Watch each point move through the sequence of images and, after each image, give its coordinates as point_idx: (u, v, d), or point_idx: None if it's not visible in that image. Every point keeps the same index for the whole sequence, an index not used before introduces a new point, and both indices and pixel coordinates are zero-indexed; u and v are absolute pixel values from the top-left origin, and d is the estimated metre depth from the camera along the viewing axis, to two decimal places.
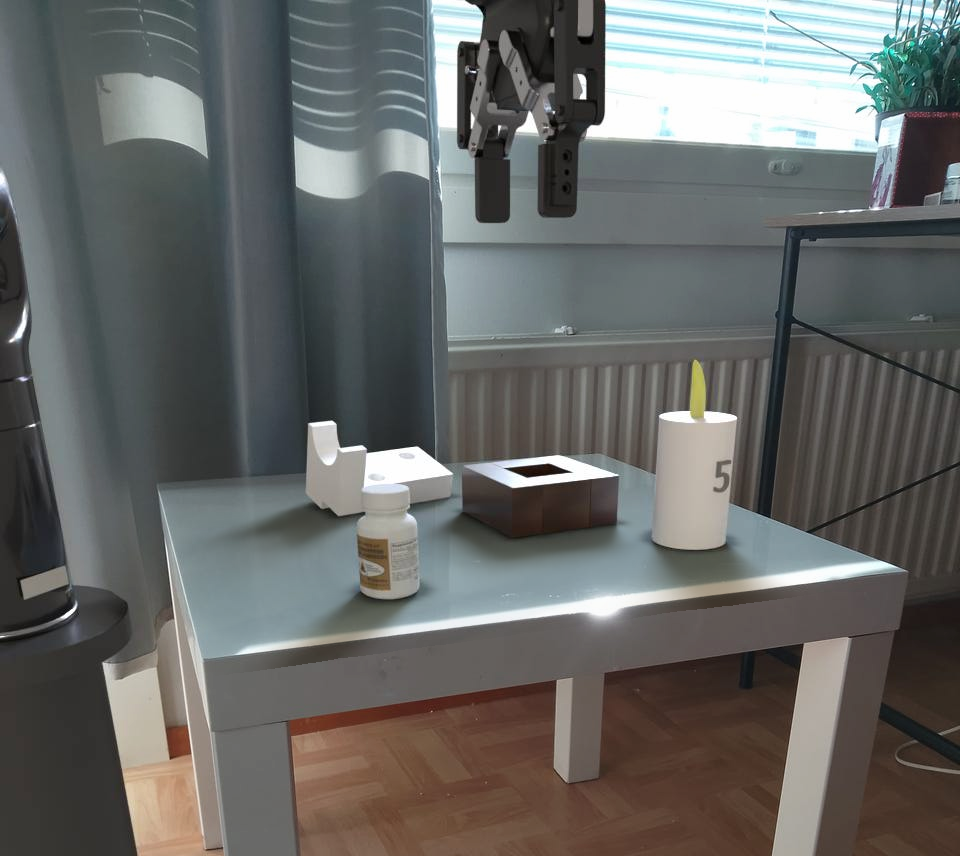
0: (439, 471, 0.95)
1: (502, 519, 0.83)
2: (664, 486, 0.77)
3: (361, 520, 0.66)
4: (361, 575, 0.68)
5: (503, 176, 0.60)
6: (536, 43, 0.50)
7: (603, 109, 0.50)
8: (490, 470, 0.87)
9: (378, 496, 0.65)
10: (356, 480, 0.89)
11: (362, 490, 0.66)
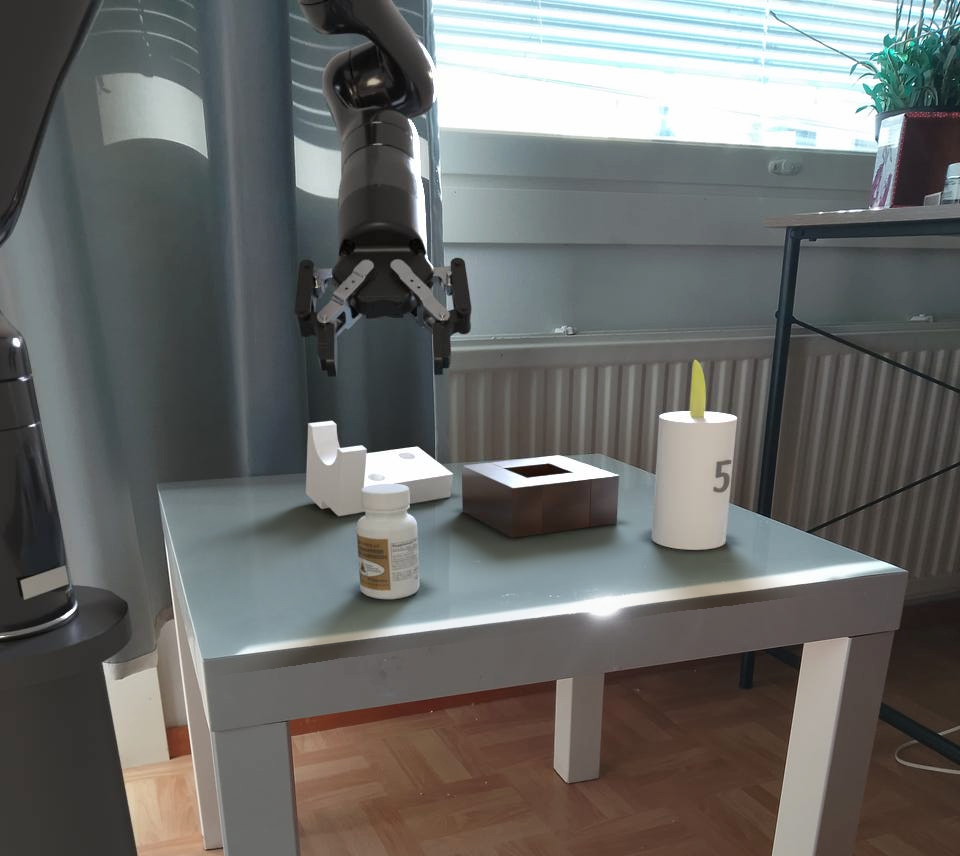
0: (439, 471, 0.95)
1: (502, 519, 0.83)
2: (664, 486, 0.77)
3: (361, 520, 0.66)
4: (361, 575, 0.68)
5: (336, 348, 0.75)
6: (424, 276, 0.77)
7: (470, 326, 0.77)
8: (490, 470, 0.87)
9: (378, 496, 0.65)
10: (356, 480, 0.89)
11: (362, 490, 0.66)
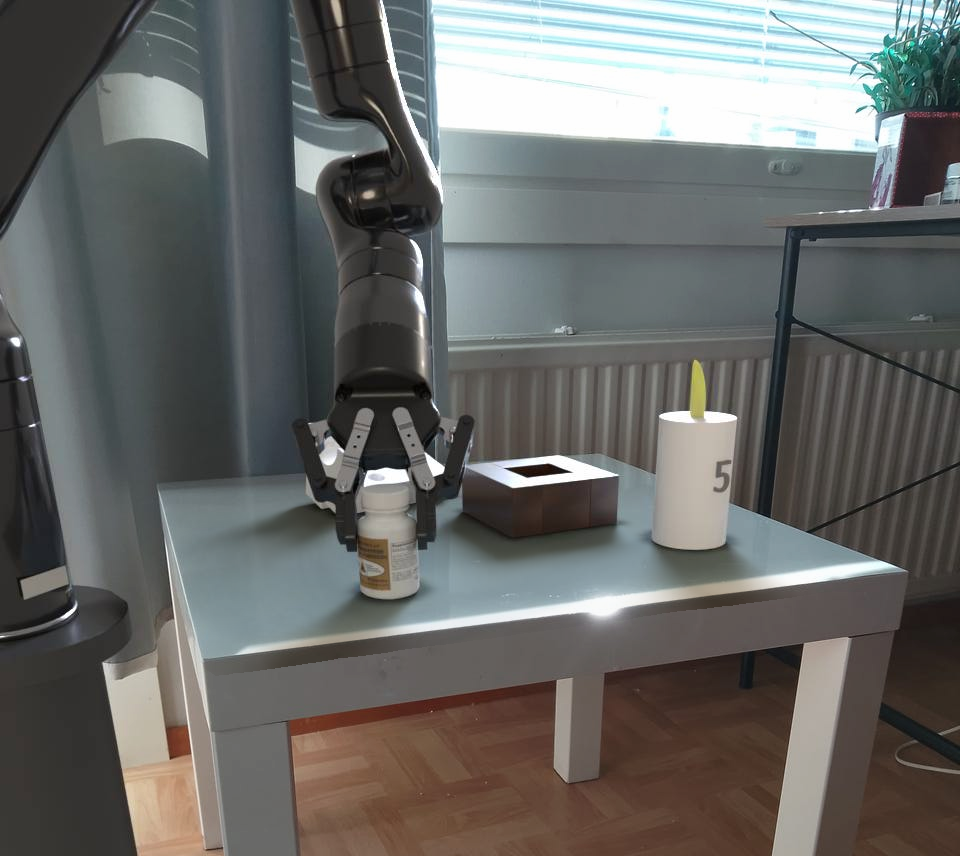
0: (439, 471, 0.95)
1: (502, 519, 0.83)
2: (664, 486, 0.77)
3: (361, 520, 0.66)
4: (361, 575, 0.68)
5: (356, 518, 0.67)
6: (430, 424, 0.69)
7: (458, 492, 0.69)
8: (490, 470, 0.87)
9: (377, 496, 0.65)
10: None
11: (362, 490, 0.66)
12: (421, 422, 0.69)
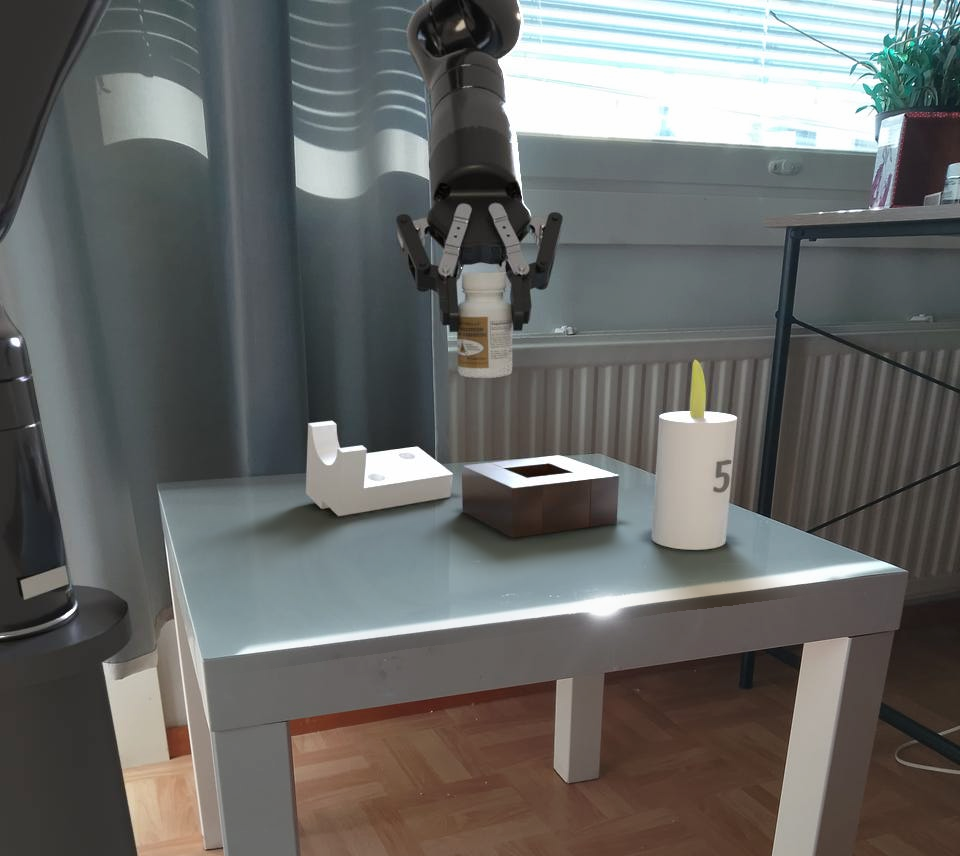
0: (439, 471, 0.95)
1: (502, 519, 0.83)
2: (664, 486, 0.77)
3: (462, 303, 0.73)
4: (460, 357, 0.74)
5: None
6: (522, 220, 0.75)
7: None
8: (490, 470, 0.87)
9: (479, 275, 0.71)
10: (356, 480, 0.89)
11: (463, 273, 0.72)
12: (514, 218, 0.75)
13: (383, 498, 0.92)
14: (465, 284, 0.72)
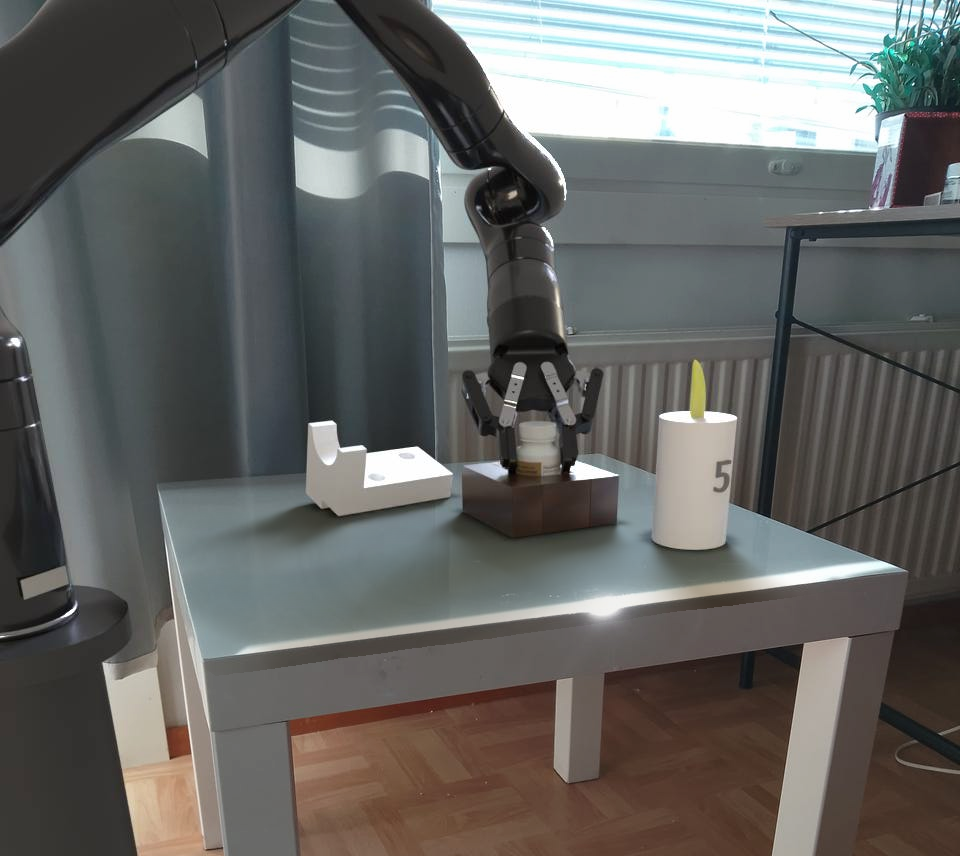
0: (439, 471, 0.95)
1: (502, 519, 0.83)
2: (664, 486, 0.77)
3: (518, 448, 0.86)
4: None
5: None
6: (569, 375, 0.88)
7: (590, 429, 0.88)
8: (490, 470, 0.87)
9: (535, 428, 0.84)
10: (356, 480, 0.89)
11: (521, 425, 0.85)
12: (562, 374, 0.88)
13: (383, 498, 0.92)
14: (522, 434, 0.85)
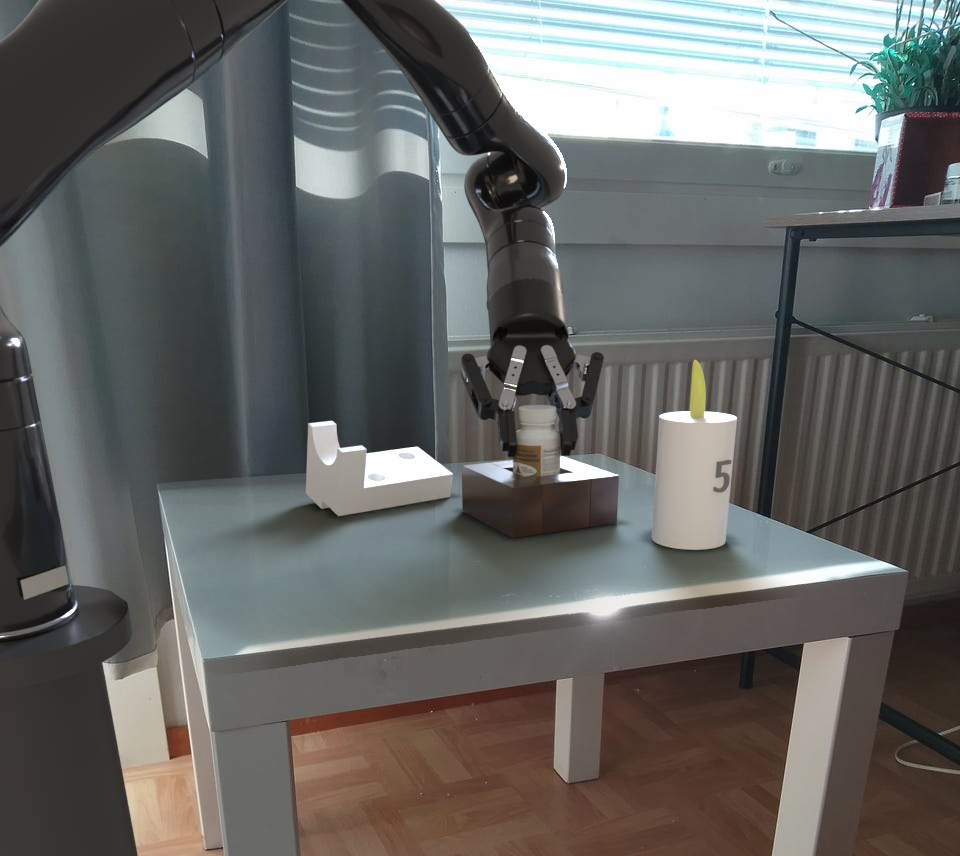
0: (439, 471, 0.95)
1: (502, 519, 0.83)
2: (664, 486, 0.77)
3: (518, 432, 0.85)
4: None
5: None
6: (569, 359, 0.87)
7: (590, 413, 0.87)
8: (490, 470, 0.87)
9: (534, 411, 0.83)
10: (356, 480, 0.89)
11: (520, 408, 0.84)
12: (562, 357, 0.87)
13: (383, 498, 0.92)
14: (522, 417, 0.84)
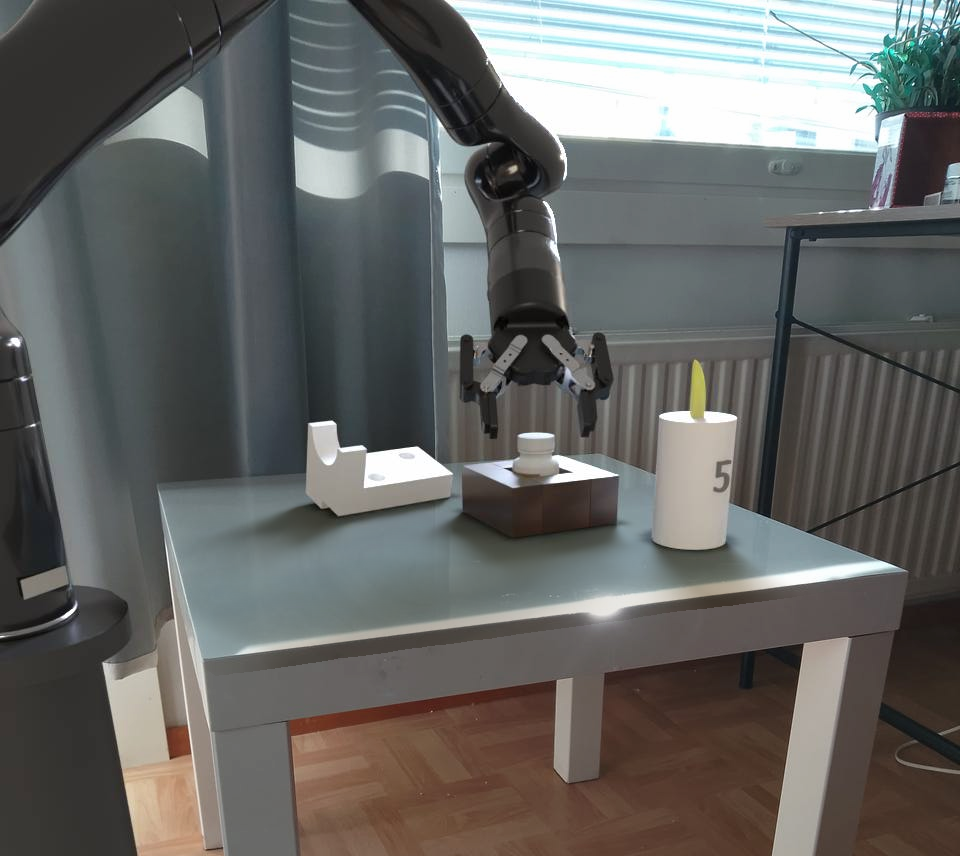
0: (439, 471, 0.95)
1: (502, 519, 0.83)
2: (664, 486, 0.77)
3: (517, 460, 0.86)
4: None
5: None
6: (570, 348, 0.87)
7: (609, 393, 0.88)
8: (490, 470, 0.87)
9: (533, 440, 0.84)
10: (356, 480, 0.89)
11: (519, 436, 0.85)
12: (566, 347, 0.87)
13: (383, 498, 0.92)
14: (520, 446, 0.85)
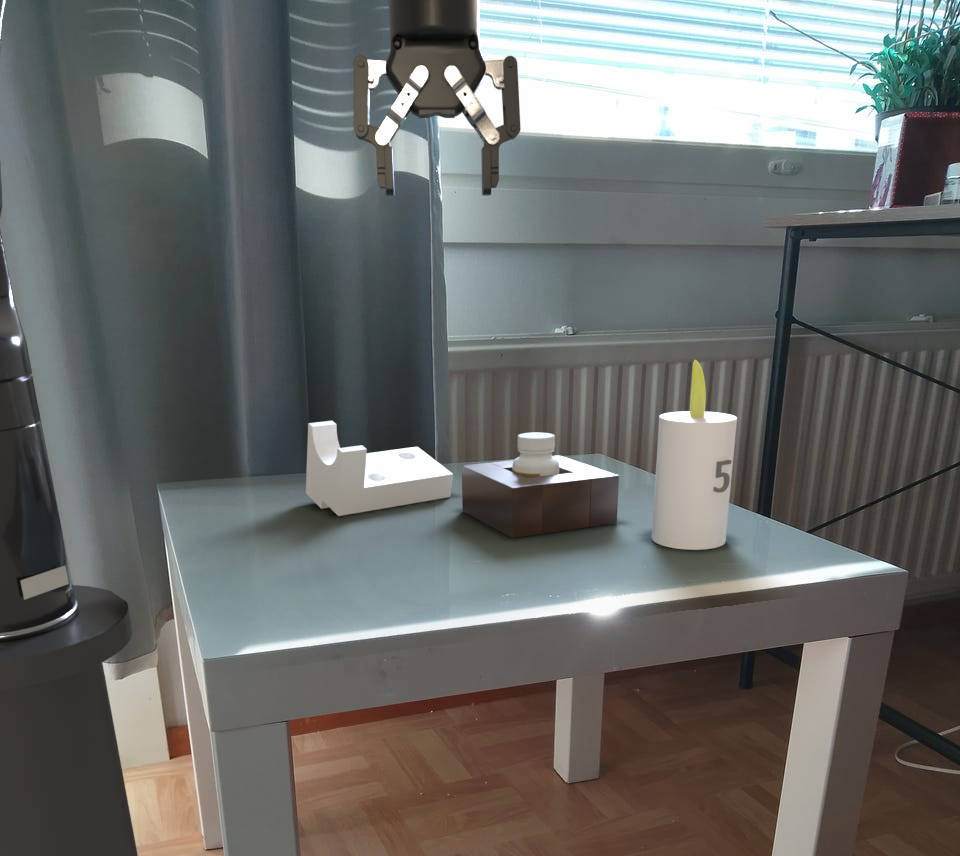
0: (439, 471, 0.95)
1: (502, 519, 0.83)
2: (664, 486, 0.77)
3: (517, 460, 0.86)
4: None
5: None
6: (477, 80, 0.78)
7: None
8: (490, 470, 0.87)
9: (533, 440, 0.84)
10: (356, 480, 0.89)
11: (519, 436, 0.85)
12: (472, 78, 0.78)
13: (383, 498, 0.92)
14: (521, 445, 0.85)
